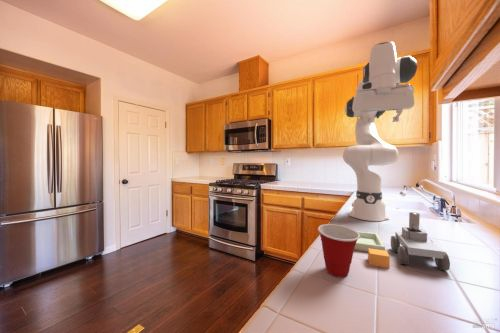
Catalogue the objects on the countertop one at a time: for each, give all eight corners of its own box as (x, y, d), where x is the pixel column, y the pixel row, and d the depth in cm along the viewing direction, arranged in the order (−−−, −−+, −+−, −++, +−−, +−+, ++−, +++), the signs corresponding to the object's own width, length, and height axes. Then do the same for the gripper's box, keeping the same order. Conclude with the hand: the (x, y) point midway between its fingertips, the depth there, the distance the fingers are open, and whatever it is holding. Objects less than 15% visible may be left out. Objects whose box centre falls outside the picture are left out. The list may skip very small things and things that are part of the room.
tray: (348, 236, 85) (348, 230, 85) (377, 239, 81) (377, 233, 81) (350, 249, 73) (350, 242, 73) (384, 254, 69) (384, 246, 69)
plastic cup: (346, 288, 51) (346, 240, 51) (309, 270, 60) (309, 228, 59) (367, 274, 57) (367, 231, 57) (331, 258, 66) (331, 221, 66)
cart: (390, 247, 74) (390, 224, 74) (428, 252, 70) (429, 227, 70) (402, 266, 61) (402, 238, 61) (449, 274, 57) (450, 243, 57)
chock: (369, 264, 63) (370, 253, 62) (368, 259, 66) (368, 248, 66) (389, 268, 61) (389, 256, 61) (386, 262, 64) (386, 250, 64)
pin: (407, 235, 69) (408, 211, 69) (417, 236, 68) (417, 212, 68) (410, 238, 67) (410, 213, 67) (420, 239, 66) (420, 214, 66)
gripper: (410, 86, 80) (409, 122, 80) (351, 91, 86) (351, 125, 86) (418, 80, 74) (417, 119, 74) (354, 86, 80) (354, 122, 80)
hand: (381, 122), depth 80 cm, fingers open, 8 cm apart
